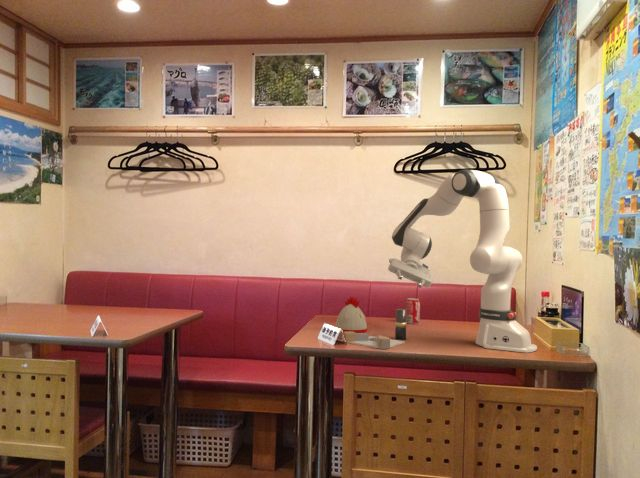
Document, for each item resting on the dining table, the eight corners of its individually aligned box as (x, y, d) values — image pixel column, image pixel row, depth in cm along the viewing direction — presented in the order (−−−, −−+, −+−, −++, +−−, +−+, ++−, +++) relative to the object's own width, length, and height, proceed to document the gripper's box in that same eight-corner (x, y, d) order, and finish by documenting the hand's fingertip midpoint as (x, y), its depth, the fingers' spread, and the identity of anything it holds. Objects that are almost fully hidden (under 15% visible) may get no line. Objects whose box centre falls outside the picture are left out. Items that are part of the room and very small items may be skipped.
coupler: (408, 339, 206) (409, 309, 206) (402, 340, 202) (403, 310, 202) (398, 337, 208) (398, 308, 209) (392, 339, 205) (393, 309, 205)
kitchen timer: (351, 335, 211) (351, 299, 211) (328, 330, 222) (329, 296, 222) (373, 331, 221) (374, 297, 221) (351, 327, 231) (351, 294, 231)
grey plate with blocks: (408, 343, 196) (408, 333, 196) (386, 350, 183) (386, 340, 183) (357, 335, 211) (357, 326, 211) (334, 341, 197) (334, 331, 197)
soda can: (418, 322, 249) (419, 298, 249) (420, 324, 242) (420, 299, 242) (404, 321, 250) (405, 297, 250) (405, 324, 243) (406, 299, 243)
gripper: (392, 251, 227) (391, 267, 215) (433, 269, 228) (434, 285, 216) (386, 262, 230) (385, 278, 218) (427, 279, 231) (428, 296, 219)
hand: (410, 282), depth 217 cm, fingers open, 8 cm apart
